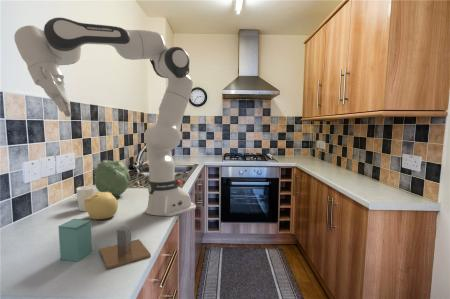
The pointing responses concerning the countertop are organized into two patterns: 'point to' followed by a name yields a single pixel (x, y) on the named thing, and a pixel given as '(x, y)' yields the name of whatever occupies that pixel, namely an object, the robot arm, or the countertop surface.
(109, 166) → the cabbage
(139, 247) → the brown square base plate
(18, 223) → the countertop surface
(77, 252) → the teal tall prism
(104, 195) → the sculpture
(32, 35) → the robot arm
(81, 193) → the white cup
